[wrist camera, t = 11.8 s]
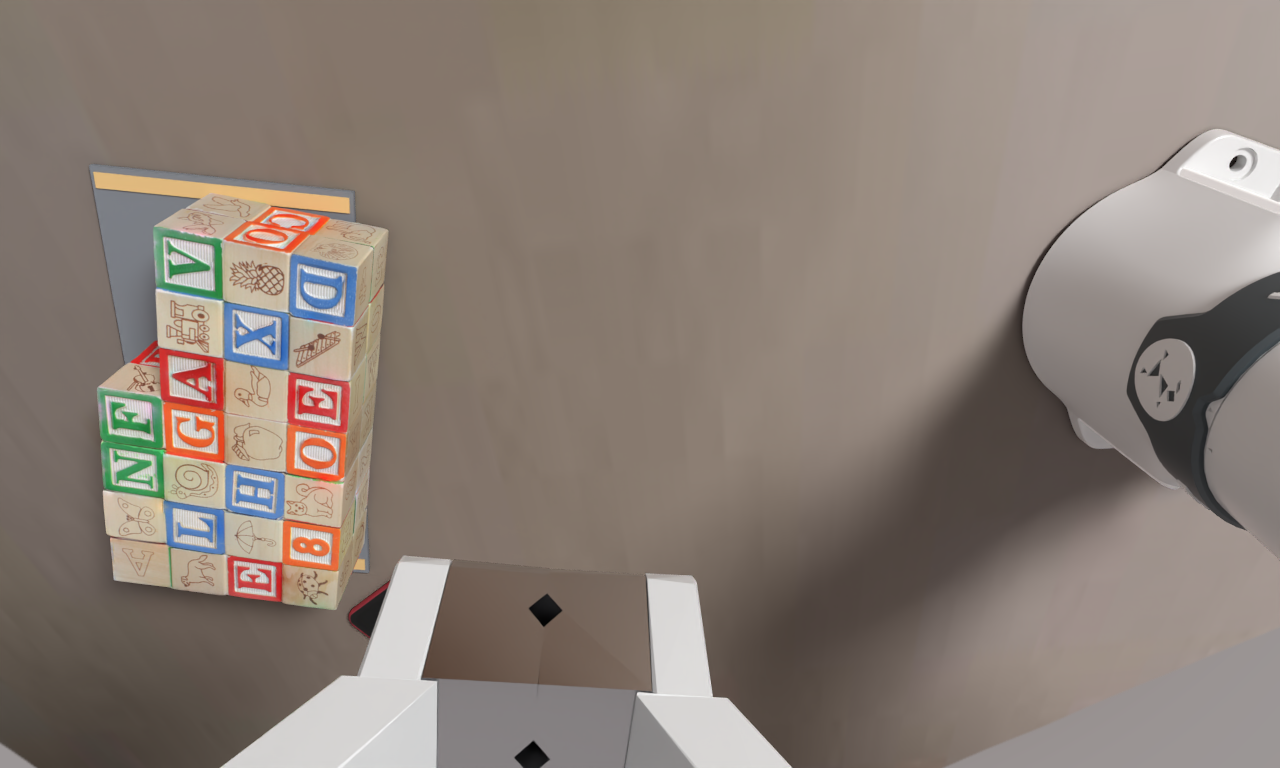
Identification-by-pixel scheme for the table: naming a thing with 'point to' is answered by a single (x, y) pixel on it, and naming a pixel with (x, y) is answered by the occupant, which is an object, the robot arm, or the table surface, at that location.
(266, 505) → the stack of blocks
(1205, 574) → the table surface
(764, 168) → the table surface
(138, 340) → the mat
